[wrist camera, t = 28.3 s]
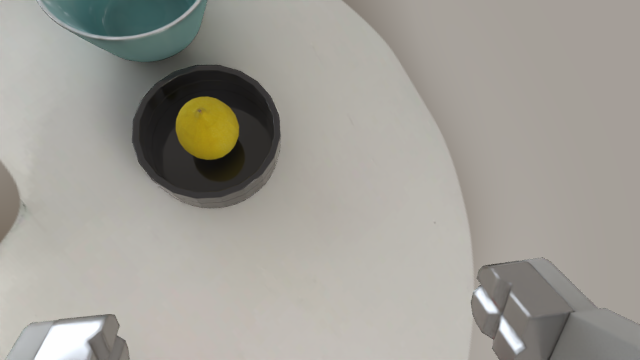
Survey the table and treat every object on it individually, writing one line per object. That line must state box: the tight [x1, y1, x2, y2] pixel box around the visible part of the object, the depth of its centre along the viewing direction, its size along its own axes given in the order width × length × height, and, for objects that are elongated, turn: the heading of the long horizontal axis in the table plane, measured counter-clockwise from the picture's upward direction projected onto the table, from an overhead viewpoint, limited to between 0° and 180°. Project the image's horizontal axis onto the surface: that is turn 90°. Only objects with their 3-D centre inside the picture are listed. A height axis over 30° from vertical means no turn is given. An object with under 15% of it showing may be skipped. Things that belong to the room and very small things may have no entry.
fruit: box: [176, 97, 239, 160], centre depth 36 cm, size 6×6×8 cm
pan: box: [132, 65, 280, 208], centre depth 38 cm, size 13×13×4 cm
